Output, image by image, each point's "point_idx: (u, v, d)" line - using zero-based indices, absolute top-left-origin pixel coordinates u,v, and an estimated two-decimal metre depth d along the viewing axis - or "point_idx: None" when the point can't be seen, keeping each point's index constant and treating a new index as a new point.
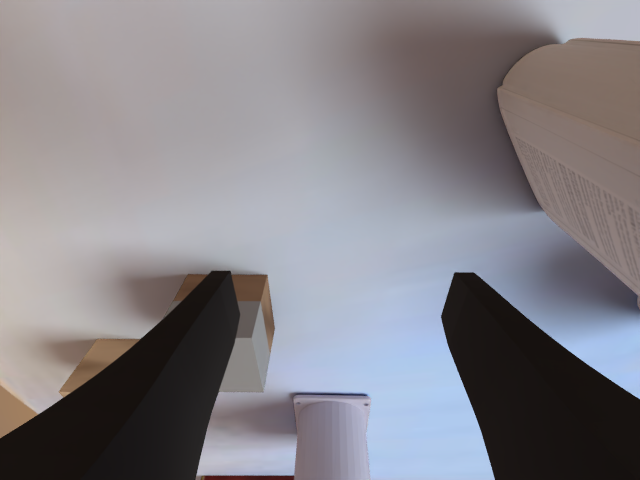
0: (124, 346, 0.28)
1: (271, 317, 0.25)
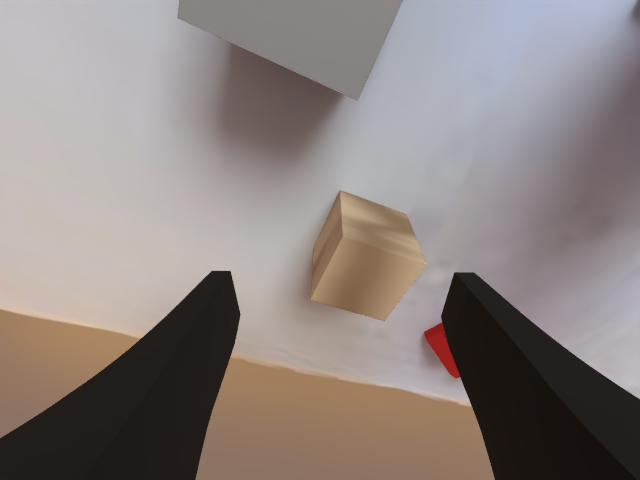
0: (329, 218, 0.19)
1: None
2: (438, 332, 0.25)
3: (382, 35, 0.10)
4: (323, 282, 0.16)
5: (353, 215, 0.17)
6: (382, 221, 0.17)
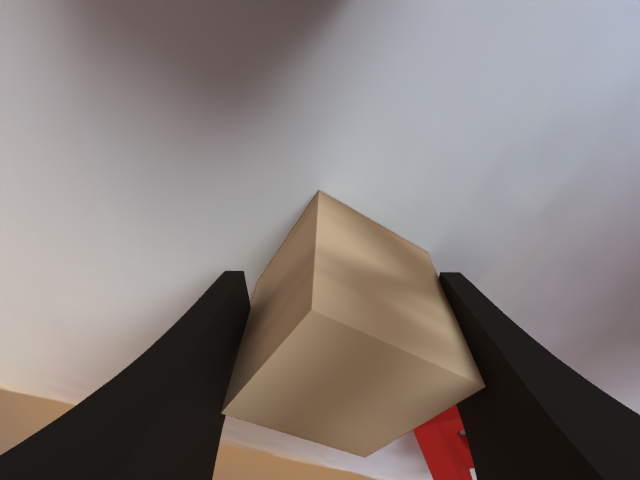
0: (290, 240, 0.10)
1: None
2: (433, 423, 0.17)
3: None
4: (252, 390, 0.07)
5: (339, 248, 0.08)
6: (393, 267, 0.09)
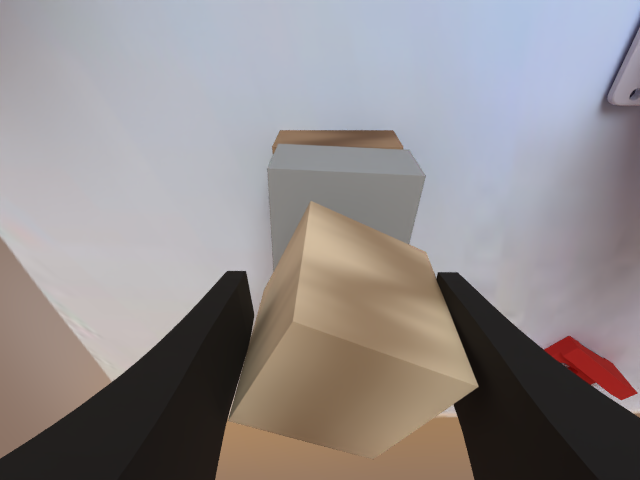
0: (288, 251, 0.10)
1: (356, 133, 0.16)
2: None
3: None
4: (252, 398, 0.08)
5: (328, 257, 0.08)
6: (385, 271, 0.09)
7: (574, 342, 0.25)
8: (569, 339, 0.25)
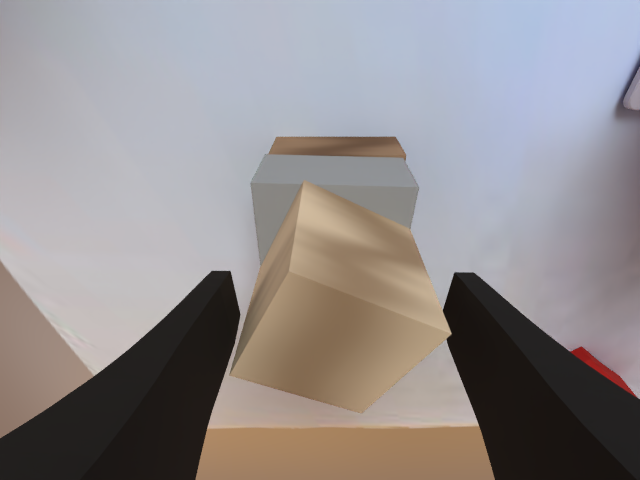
0: (283, 226, 0.11)
1: (356, 140, 0.15)
2: None
3: None
4: (252, 351, 0.09)
5: (319, 226, 0.09)
6: (371, 240, 0.10)
7: (586, 353, 0.24)
8: (581, 350, 0.24)
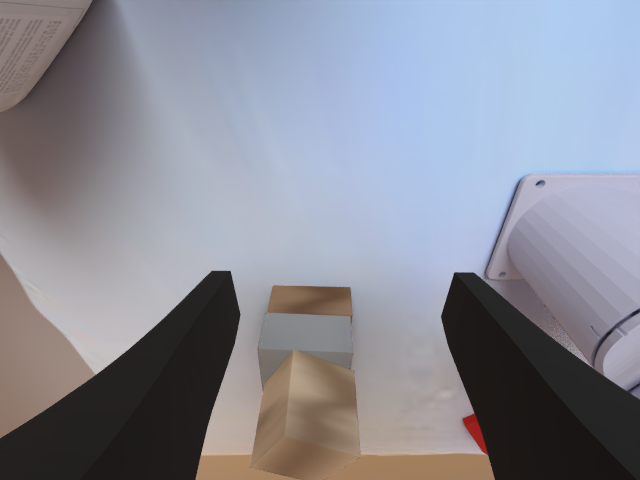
0: (280, 374, 0.20)
1: (324, 292, 0.24)
2: (474, 421, 0.34)
3: None
4: (263, 459, 0.17)
5: (300, 392, 0.18)
6: (327, 394, 0.18)
7: None
8: None
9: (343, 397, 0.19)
